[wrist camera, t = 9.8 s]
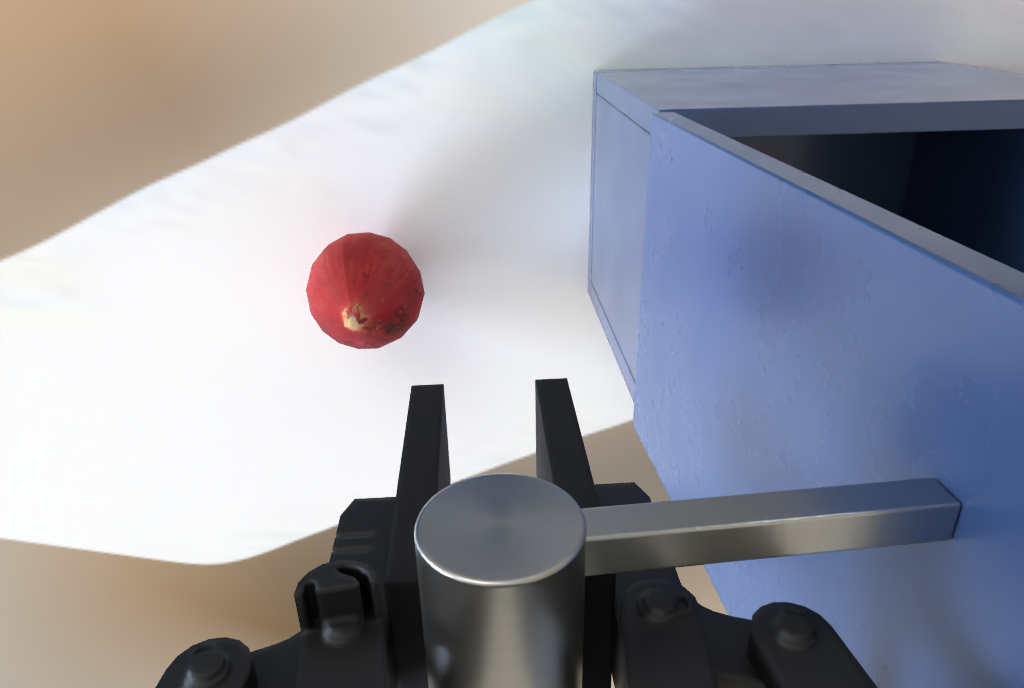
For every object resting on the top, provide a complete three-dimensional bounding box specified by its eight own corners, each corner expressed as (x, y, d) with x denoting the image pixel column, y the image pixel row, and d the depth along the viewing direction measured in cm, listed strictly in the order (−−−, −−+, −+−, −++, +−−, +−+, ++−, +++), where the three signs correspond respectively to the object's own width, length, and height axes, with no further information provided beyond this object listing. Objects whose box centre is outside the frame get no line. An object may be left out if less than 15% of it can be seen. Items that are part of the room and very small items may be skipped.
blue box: (940, 61, 38) (1175, 95, 26) (893, 280, 43) (1069, 398, 31) (593, 70, 37) (659, 110, 25) (587, 292, 43) (640, 418, 30)
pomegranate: (447, 260, 41) (444, 317, 34) (385, 333, 43) (369, 402, 36) (361, 194, 39) (339, 239, 32) (300, 273, 41) (265, 333, 34)
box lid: (1254, 375, 7) (386, 445, 7) (965, 997, 13) (456, 1079, 12) (674, 111, 24) (408, 121, 24) (652, 423, 30) (433, 440, 29)
